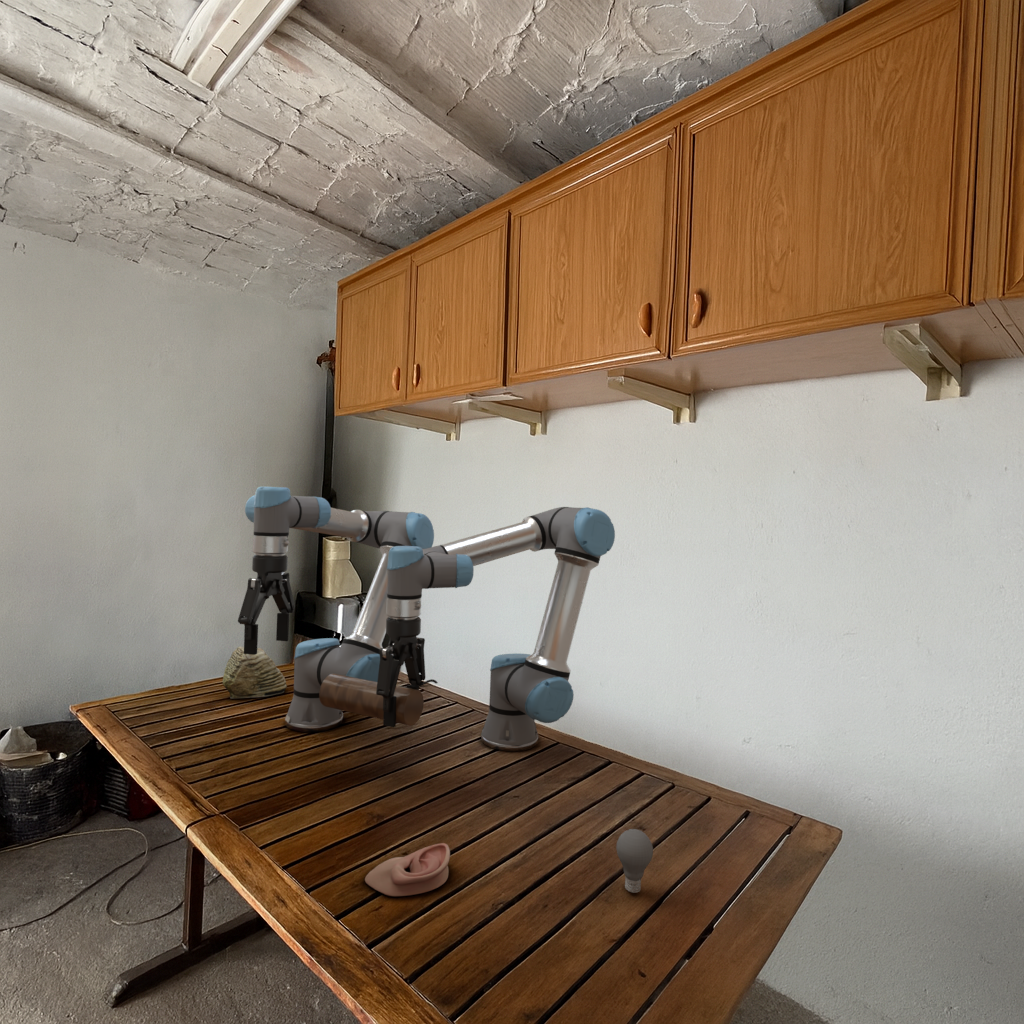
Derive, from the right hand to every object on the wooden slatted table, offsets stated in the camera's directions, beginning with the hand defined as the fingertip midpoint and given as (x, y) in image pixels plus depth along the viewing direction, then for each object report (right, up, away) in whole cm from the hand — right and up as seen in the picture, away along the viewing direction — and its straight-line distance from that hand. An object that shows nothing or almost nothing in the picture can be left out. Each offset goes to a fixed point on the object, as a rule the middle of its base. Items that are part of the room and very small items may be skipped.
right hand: (400, 719), depth 139 cm
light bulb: (+45, -18, -34) cm, 59 cm away
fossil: (-56, -11, +59) cm, 82 cm away
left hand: (-32, +15, +5) cm, 35 cm away
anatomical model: (+7, -16, -33) cm, 37 cm away
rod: (-8, 0, +4) cm, 8 cm away
